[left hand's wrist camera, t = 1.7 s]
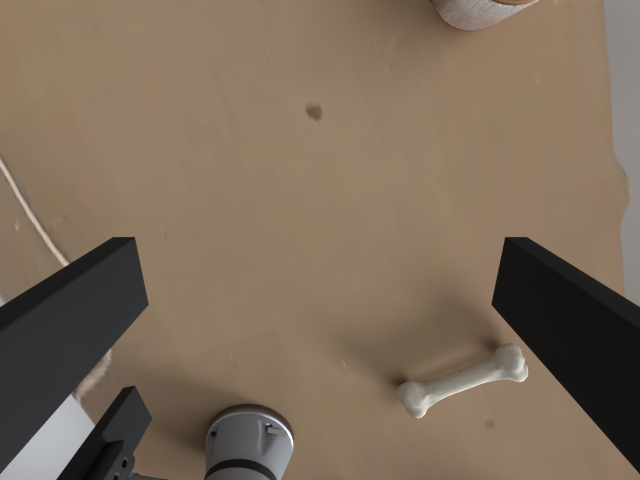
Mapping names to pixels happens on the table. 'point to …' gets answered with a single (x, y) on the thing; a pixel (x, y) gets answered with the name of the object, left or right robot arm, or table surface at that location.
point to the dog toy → (464, 379)
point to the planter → (478, 12)
